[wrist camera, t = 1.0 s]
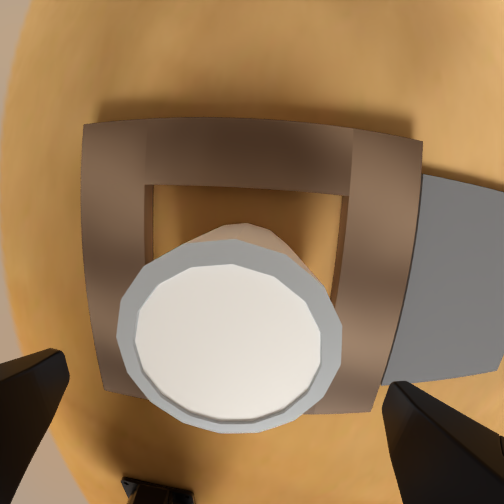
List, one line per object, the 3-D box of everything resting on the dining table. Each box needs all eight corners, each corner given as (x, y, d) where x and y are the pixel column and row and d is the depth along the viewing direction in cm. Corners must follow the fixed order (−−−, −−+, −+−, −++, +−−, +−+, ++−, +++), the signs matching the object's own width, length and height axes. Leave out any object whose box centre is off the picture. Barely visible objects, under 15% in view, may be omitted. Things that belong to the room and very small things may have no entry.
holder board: (365, 399, 17) (370, 411, 16) (111, 379, 17) (104, 390, 16) (411, 143, 13) (422, 141, 12) (95, 127, 14) (83, 124, 13)
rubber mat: (493, 367, 16) (496, 370, 16) (379, 380, 17) (381, 385, 16) (535, 201, 14) (540, 202, 13) (418, 174, 14) (423, 174, 13)
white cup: (154, 233, 15) (80, 277, 8) (291, 191, 14) (314, 205, 8) (200, 352, 17) (169, 444, 10) (324, 321, 16) (357, 411, 9)
